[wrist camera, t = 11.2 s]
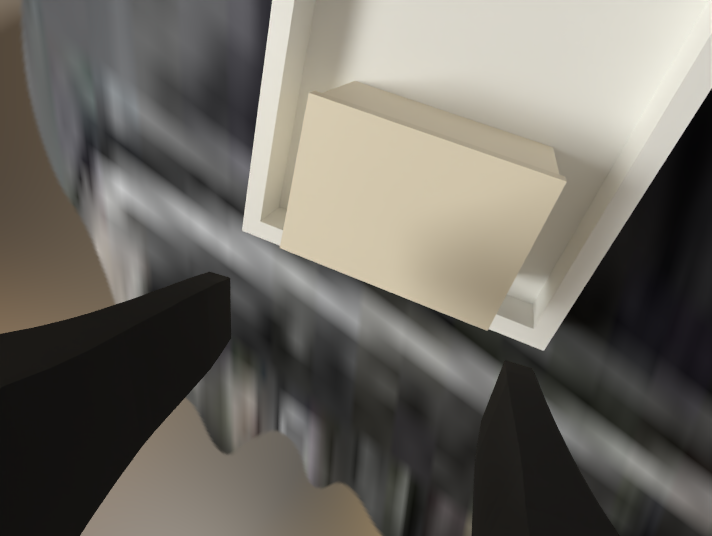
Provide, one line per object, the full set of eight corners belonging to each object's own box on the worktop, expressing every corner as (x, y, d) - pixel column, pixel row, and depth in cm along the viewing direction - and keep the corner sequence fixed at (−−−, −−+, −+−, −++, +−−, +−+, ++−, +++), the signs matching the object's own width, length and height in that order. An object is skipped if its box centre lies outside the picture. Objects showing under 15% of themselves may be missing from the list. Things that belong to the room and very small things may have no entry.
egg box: (557, 145, 17) (566, 181, 13) (494, 272, 20) (487, 330, 16) (353, 77, 18) (308, 92, 14) (323, 207, 21) (279, 247, 17)
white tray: (869, -225, 12) (947, -280, 9) (541, 317, 21) (543, 350, 19) (355, -330, 13) (324, -395, 11) (267, 211, 23) (242, 230, 21)
